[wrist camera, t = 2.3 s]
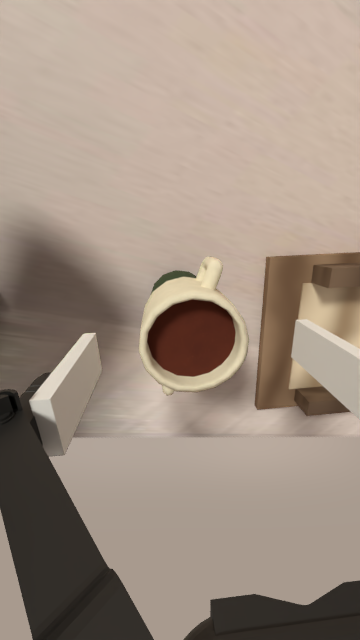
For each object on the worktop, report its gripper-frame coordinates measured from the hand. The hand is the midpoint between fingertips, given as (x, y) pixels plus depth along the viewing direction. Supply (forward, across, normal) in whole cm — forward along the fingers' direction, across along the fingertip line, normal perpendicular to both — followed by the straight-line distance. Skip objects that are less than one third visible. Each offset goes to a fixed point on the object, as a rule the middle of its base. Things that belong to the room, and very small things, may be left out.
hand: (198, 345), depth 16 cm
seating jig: (+13, +18, -6) cm, 23 cm away
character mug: (+13, 0, 0) cm, 13 cm away
